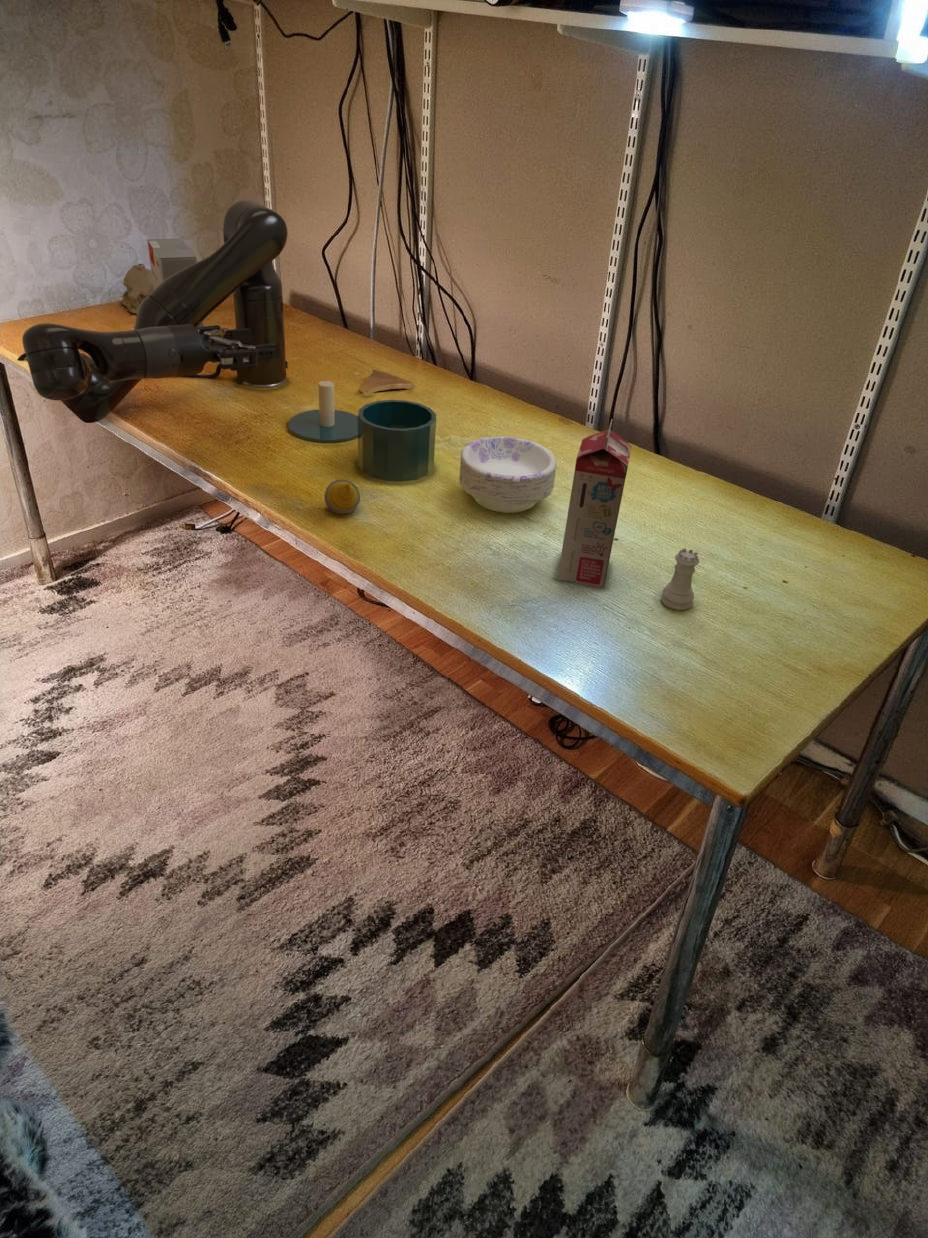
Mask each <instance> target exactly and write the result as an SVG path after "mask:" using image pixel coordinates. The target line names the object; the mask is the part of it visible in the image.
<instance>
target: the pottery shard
mask: <svg viewBox="0 0 928 1238" xmlns="http://www.w3.org/2000/svg"><path fill="white" fill-rule="evenodd" d="M401 389H407V390H411V389H412V383H411V381H410V380H407V379H404V378H402V377H399V376H397V375H394V374H391V373H388V372H385V371H380V370H377V369H372V372H371V373H370V375H369V376H368V377H367V378H366V379H365V381H364V383H363V384H362V386H361V387H360V388H359V390H358V391H359V393H361V394H362V395H372V394H374V393H377V392H384V391H388V390H389V391H390V390H401Z"/></svg>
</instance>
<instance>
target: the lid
mask: <svg viewBox="0 0 928 1238" xmlns="http://www.w3.org/2000/svg"><path fill="white" fill-rule="evenodd" d="M317 387H318V409H312V410H306V411H302V412H299V413H297V414H295V415H293V416H292V417H291V418H290V419H289V420H288V422H287V428H288V430H289V432H290V433H291V434H292V435H293V436H295V437H296V438H299V439H301V440H304V441H308V442H314V443H321V444H322V443H323V444H332V443H333V444H335V443H344V442H349V441H352V440H355V439H358V414H356V413H355V414H354V413H352V412H349V411H345V410H340V409H335V408H336V406H335V404H336V401H335V400H336V399H335V397H336V395H335V383H334V382H333V381H331V380H321V381H319V382H318V384H317Z"/></svg>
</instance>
